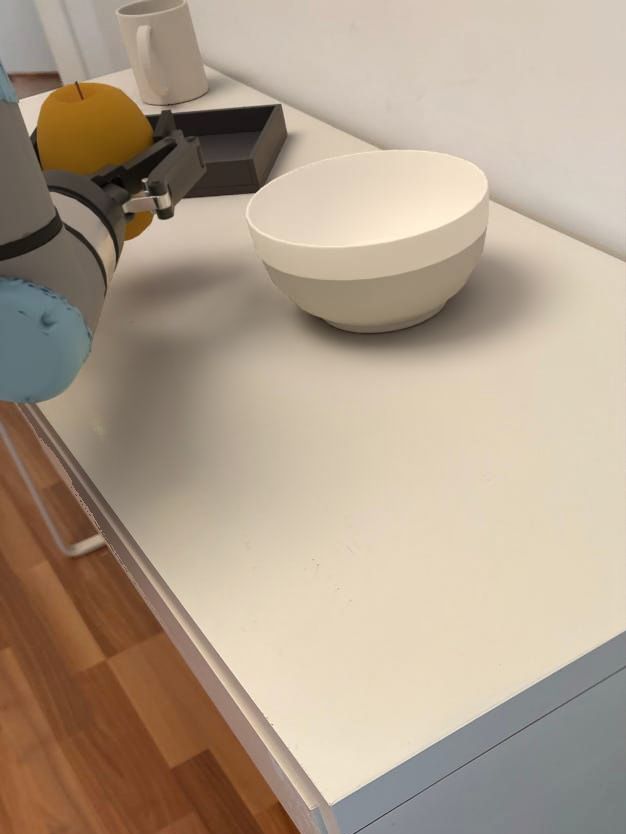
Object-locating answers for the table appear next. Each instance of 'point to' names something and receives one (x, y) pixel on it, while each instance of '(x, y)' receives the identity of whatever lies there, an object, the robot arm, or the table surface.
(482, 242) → the bowl
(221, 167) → the tray
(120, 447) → the table surface
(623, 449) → the table surface
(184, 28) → the mug
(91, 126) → the apple
